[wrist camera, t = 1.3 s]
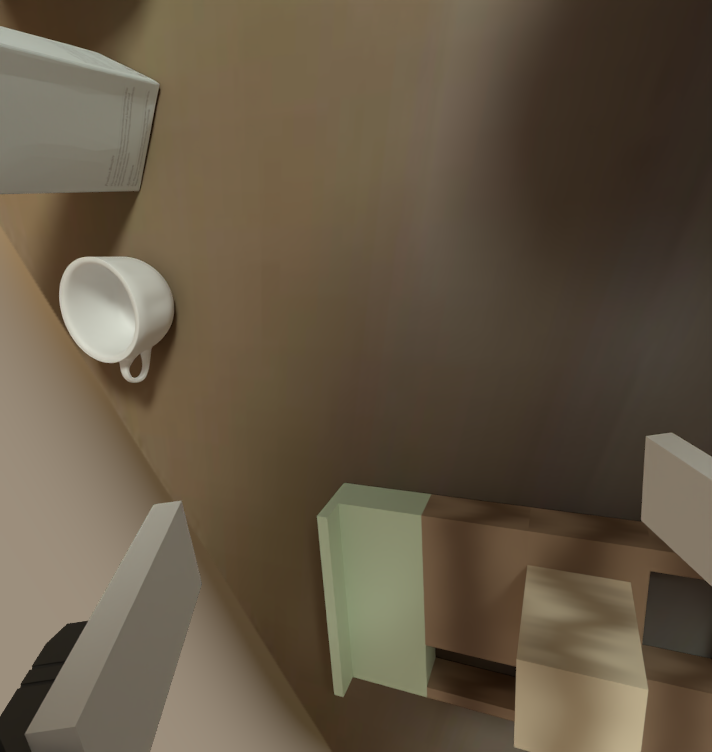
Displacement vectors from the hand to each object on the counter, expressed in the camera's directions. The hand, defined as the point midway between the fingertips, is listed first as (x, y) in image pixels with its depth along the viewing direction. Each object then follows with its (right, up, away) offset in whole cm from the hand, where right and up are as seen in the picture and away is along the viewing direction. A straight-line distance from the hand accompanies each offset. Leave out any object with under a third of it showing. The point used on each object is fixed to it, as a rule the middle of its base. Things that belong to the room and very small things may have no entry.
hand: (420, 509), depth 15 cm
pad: (+1, -12, +27) cm, 30 cm away
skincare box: (-19, +22, +25) cm, 38 cm away
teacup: (-19, +9, +29) cm, 35 cm away
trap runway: (+14, -13, +22) cm, 29 cm away
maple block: (+12, -12, +19) cm, 26 cm away
